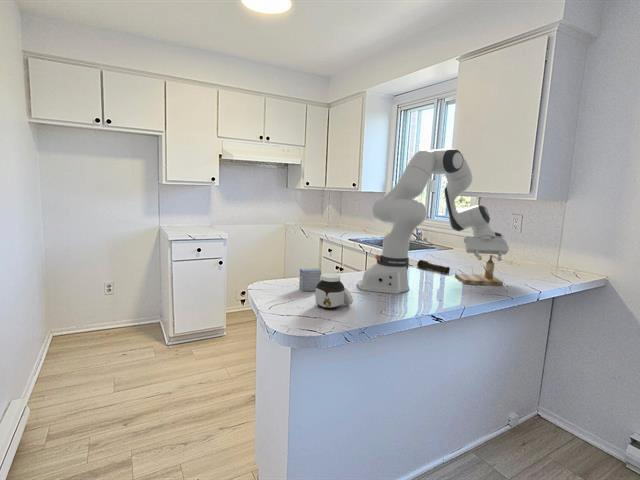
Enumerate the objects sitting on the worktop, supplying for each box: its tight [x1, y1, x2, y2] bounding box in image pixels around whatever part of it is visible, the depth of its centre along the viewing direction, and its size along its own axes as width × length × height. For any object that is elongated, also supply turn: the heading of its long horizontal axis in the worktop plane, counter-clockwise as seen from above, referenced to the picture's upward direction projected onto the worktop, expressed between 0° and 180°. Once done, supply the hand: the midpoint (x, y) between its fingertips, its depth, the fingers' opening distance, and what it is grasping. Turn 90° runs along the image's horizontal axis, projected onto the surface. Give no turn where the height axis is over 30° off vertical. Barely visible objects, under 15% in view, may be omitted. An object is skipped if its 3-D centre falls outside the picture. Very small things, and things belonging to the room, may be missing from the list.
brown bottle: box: [484, 254, 495, 279], centre depth 176 cm, size 4×4×11 cm
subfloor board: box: [454, 273, 504, 287], centre depth 177 cm, size 18×13×2 cm
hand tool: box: [416, 259, 451, 275], centre depth 196 cm, size 19×4×5 cm, turn 37°
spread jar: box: [314, 272, 354, 311], centre depth 131 cm, size 12×11×12 cm
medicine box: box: [298, 267, 322, 292], centre depth 150 cm, size 8×4×9 cm, turn 111°
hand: (489, 259), depth 176 cm, fingers open, 8 cm apart
